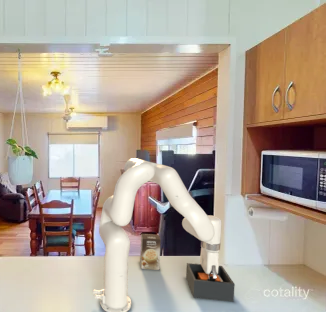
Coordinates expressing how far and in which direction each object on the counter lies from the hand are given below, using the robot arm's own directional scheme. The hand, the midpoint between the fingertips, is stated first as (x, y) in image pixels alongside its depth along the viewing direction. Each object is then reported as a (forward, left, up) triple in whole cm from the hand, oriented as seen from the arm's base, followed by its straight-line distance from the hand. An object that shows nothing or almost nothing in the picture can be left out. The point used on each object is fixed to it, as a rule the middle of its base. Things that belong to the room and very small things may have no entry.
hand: (208, 283), depth 108 cm
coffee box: (-24, +15, -3) cm, 29 cm away
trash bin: (0, 0, -3) cm, 3 cm away
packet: (0, 0, -1) cm, 1 cm away
